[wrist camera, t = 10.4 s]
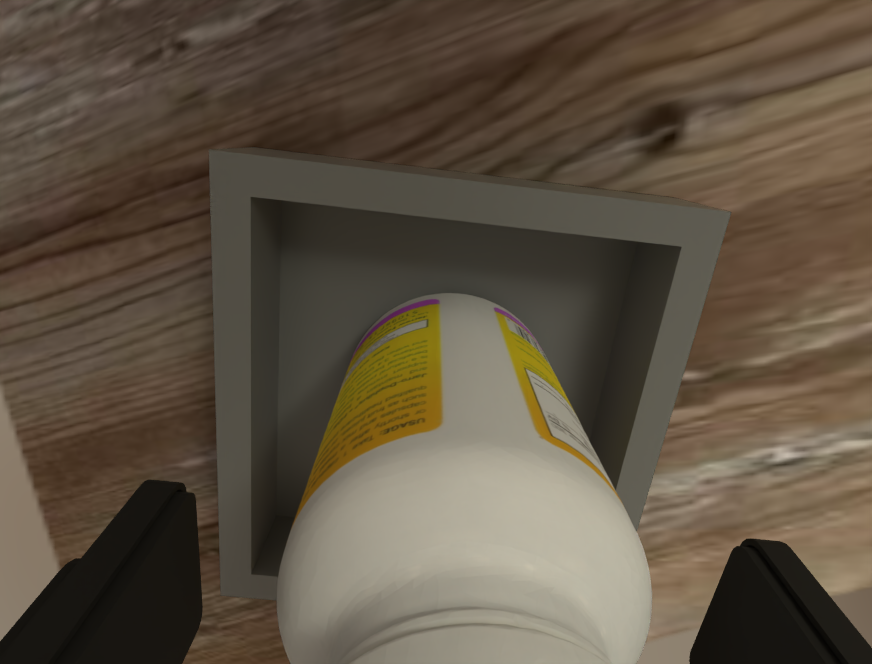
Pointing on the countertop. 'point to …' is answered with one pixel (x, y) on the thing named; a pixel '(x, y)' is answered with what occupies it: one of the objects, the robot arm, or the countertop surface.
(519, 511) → the supplement bottle
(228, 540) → the charcoal tray
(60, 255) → the countertop surface
